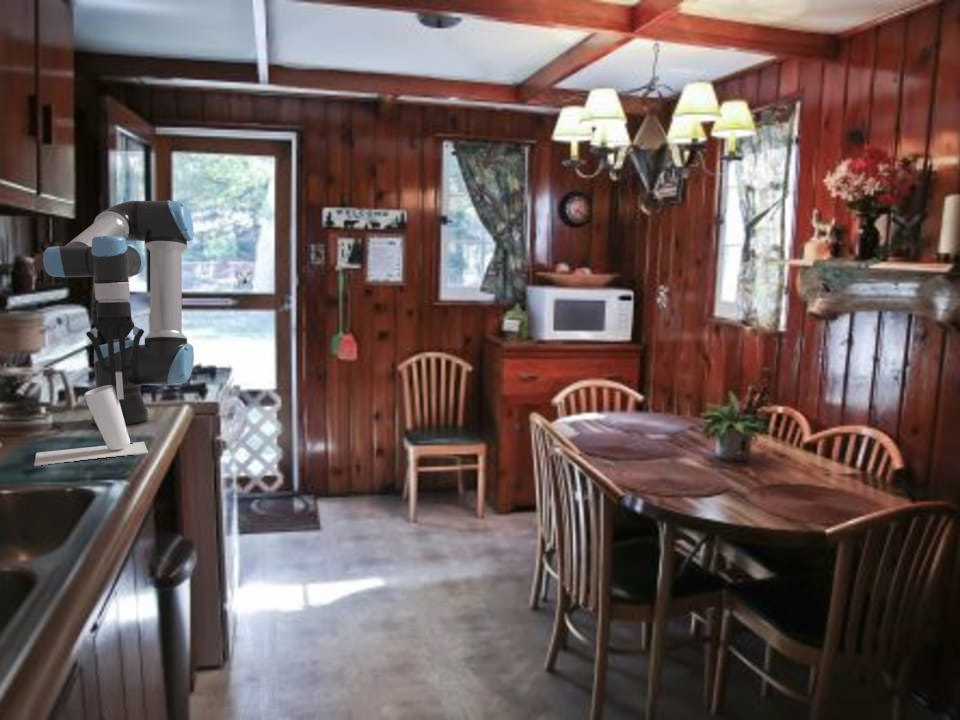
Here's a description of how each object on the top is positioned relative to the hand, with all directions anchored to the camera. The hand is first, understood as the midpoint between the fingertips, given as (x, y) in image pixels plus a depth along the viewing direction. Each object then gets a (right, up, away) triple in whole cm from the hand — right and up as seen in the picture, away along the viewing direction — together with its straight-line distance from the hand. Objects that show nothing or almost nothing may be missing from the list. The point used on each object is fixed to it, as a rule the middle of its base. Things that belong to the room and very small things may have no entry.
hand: (120, 398), depth 191 cm
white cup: (-1, -12, +2) cm, 12 cm away
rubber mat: (-6, -13, -1) cm, 15 cm away
